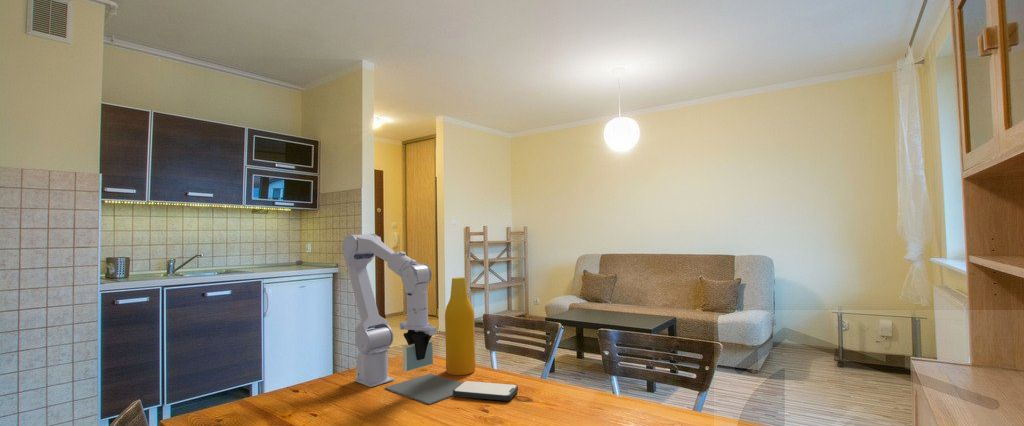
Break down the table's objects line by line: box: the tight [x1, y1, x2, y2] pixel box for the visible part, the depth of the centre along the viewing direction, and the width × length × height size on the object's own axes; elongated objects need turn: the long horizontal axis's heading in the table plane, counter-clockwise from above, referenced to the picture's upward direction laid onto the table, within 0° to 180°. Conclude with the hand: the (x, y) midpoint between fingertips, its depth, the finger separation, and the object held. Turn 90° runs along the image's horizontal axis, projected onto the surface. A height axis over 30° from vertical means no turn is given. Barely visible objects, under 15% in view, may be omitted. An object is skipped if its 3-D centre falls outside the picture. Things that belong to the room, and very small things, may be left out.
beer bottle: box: [444, 276, 477, 376], centre depth 144 cm, size 9×9×29 cm
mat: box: [384, 372, 463, 406], centre depth 128 cm, size 20×16×1 cm
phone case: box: [453, 380, 519, 402], centre depth 122 cm, size 9×2×16 cm
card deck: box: [402, 339, 434, 373], centre depth 125 cm, size 2×9×6 cm, turn 137°
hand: (418, 358), depth 125 cm, fingers closed on card deck, 2 cm apart
